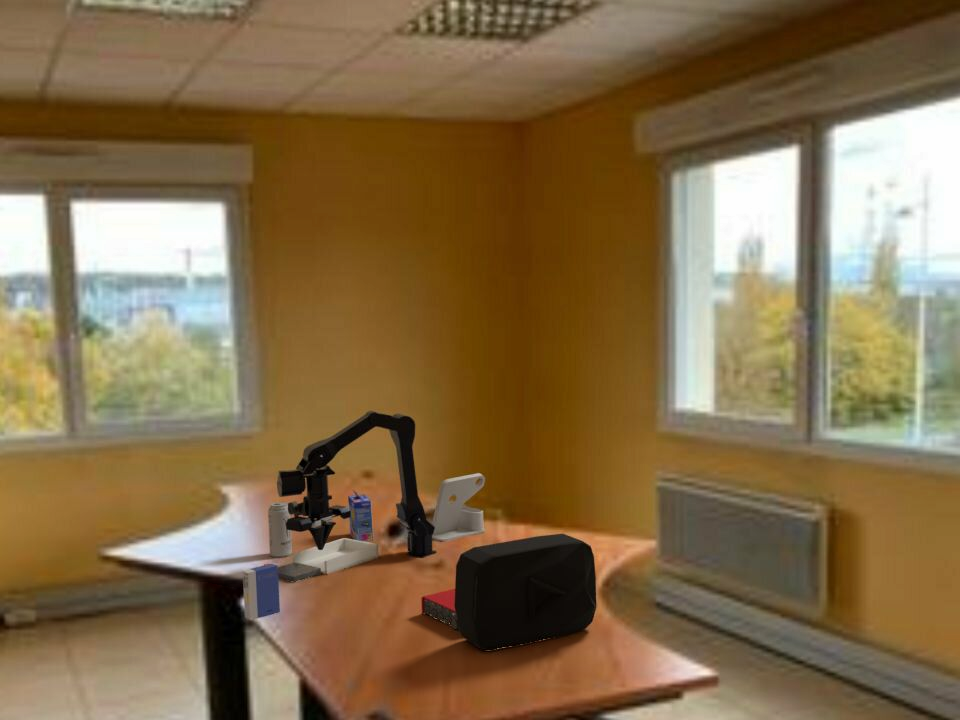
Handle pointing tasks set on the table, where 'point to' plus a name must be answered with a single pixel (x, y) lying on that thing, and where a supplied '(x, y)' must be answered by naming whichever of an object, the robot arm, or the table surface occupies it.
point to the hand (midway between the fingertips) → (320, 549)
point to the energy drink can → (279, 530)
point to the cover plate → (297, 571)
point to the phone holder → (457, 509)
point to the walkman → (261, 591)
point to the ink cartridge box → (360, 517)
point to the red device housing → (441, 607)
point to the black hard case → (525, 590)
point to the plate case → (337, 555)
